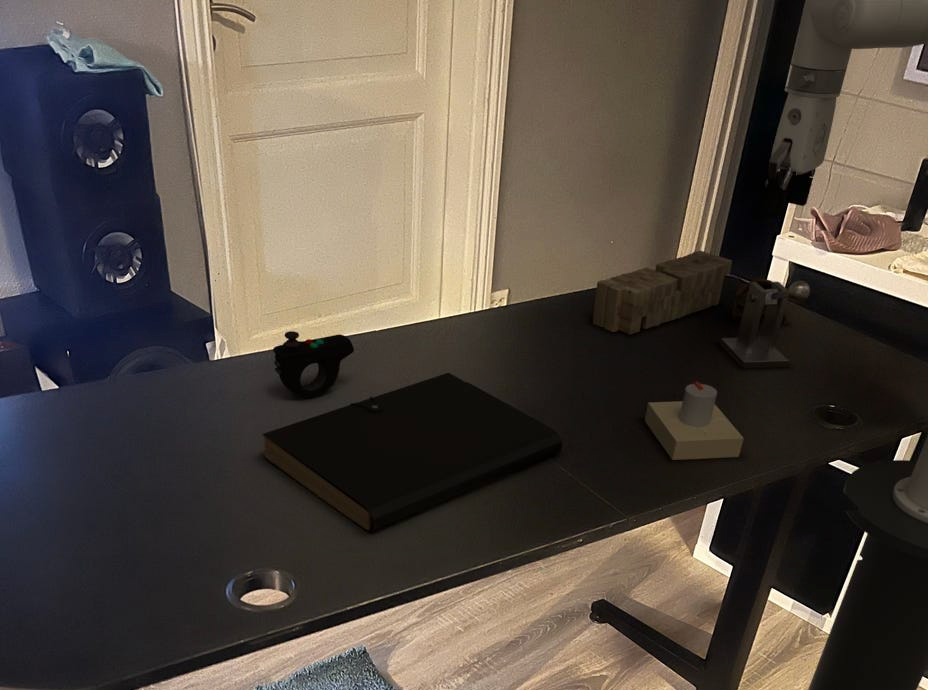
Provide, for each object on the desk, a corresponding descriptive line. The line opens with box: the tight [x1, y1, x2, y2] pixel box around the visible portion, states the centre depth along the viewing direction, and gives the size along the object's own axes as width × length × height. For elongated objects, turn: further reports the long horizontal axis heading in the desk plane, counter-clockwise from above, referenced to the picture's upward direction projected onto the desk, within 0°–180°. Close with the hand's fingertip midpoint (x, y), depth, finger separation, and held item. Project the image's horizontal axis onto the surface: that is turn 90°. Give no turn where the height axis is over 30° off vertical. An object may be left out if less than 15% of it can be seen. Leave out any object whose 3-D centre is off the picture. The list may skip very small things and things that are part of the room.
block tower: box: [592, 250, 733, 336], centre depth 177 cm, size 8×8×29 cm
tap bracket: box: [719, 281, 789, 369], centre depth 162 cm, size 10×8×12 cm
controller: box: [272, 330, 355, 399], centre depth 144 cm, size 4×12×10 cm, turn 124°
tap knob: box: [680, 381, 718, 426], centre depth 138 cm, size 4×4×5 cm
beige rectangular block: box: [644, 400, 745, 461], centre depth 140 cm, size 12×10×3 cm
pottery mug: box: [732, 277, 788, 326], centre depth 178 cm, size 12×10×8 cm
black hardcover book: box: [262, 372, 563, 532], centre depth 132 cm, size 33×4×24 cm
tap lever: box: [764, 280, 811, 306], centre depth 155 cm, size 13×3×3 cm, turn 10°
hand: (782, 210), depth 146 cm, fingers open, 9 cm apart
